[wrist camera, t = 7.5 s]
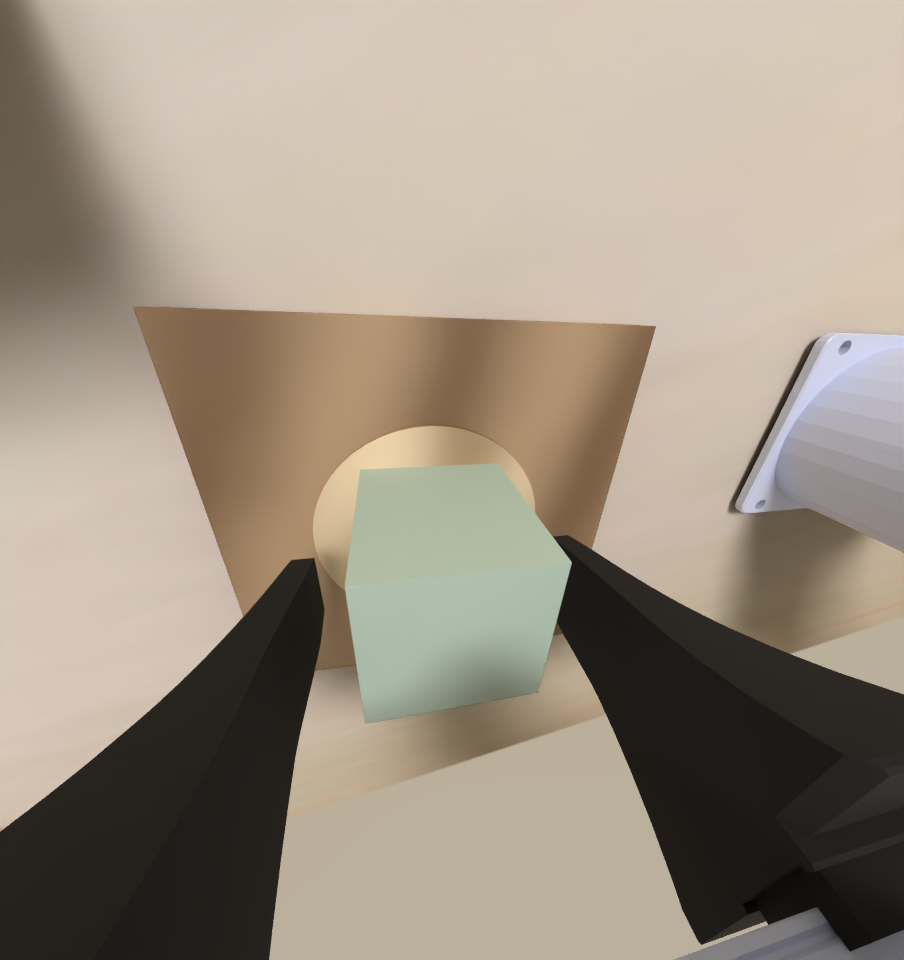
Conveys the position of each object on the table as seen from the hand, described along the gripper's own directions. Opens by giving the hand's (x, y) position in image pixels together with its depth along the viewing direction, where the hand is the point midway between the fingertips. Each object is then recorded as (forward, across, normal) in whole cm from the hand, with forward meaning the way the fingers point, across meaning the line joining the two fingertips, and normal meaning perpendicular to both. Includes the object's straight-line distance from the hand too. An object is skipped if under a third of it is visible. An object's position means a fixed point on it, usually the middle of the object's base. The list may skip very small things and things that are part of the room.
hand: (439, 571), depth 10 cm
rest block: (+2, 0, 0) cm, 2 cm away
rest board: (+3, 0, 0) cm, 3 cm away
